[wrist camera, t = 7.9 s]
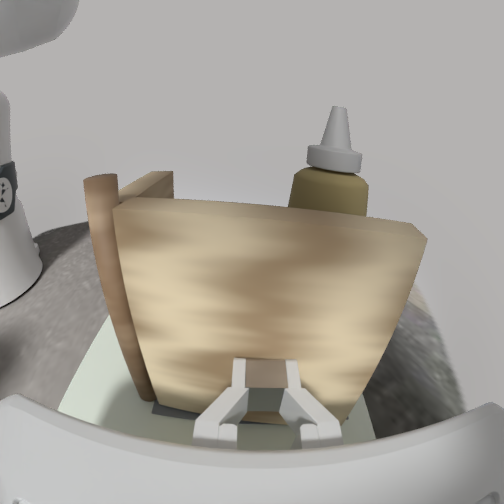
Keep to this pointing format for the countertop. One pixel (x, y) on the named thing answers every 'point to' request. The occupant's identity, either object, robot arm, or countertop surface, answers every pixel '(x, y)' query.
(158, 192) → the fixed fence panel
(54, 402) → the countertop surface
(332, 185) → the squeeze bottle
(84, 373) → the card
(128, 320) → the panel
